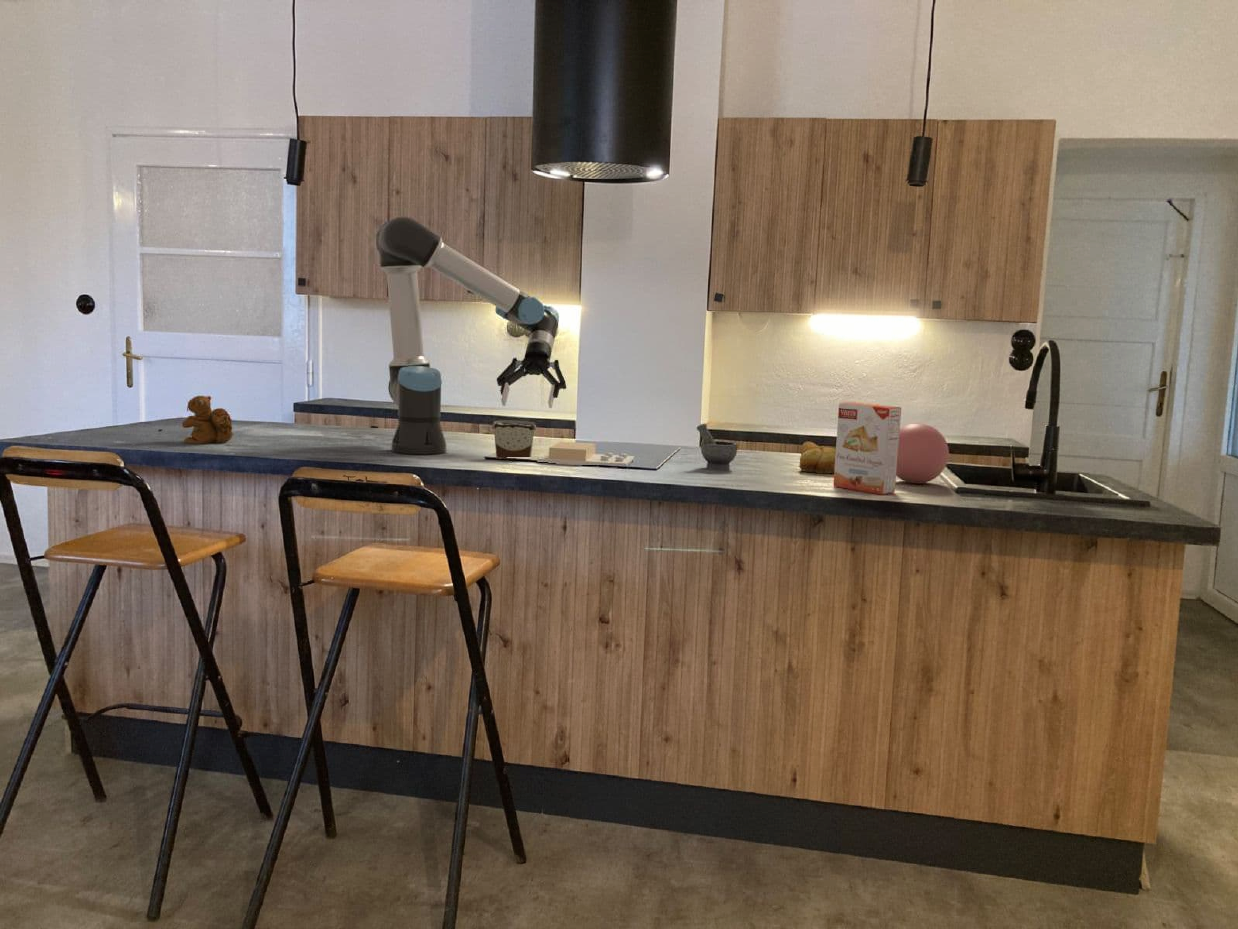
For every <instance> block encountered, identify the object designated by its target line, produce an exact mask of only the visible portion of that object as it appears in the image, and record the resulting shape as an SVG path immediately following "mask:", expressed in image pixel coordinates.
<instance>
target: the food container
mask: <svg viewBox="0 0 1238 929" xmlns="http://www.w3.org/2000/svg"><path fill="white" fill-rule="evenodd" d="M491 430H493V434H494V445H495V448H494V449H495V458H496V459H502V458H507V457H532V451H533V443H534V434H535V432H537V425H536V423H535V422H533V421H529V420H528V421H526V420H495V421H493V423H492V425H491Z"/></svg>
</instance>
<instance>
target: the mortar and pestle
mask: <svg viewBox="0 0 1238 929" xmlns="http://www.w3.org/2000/svg"><path fill="white" fill-rule="evenodd" d="M707 426H708V425H707V424H706V423H704V422H703V423H701V424H699V425H697V427H696V430H697V431H698V432H699V434H700V436H701V439H702V441H701V442H700V451H701V455H702V457H703V459H704V460H705V461H706V462H707V463H706V469H708V470H713V469H714V470H715V471H716V470H717V471H728V470H730V468H731V466H730V463H731V462H732V461H734V459H735V458H736V456H737V453H738V446H739V444H738V443H736V442H731V441H719V440H715V439H714V438H713V436H712V435H711V432H710V431H709V429H708V427H707Z"/></svg>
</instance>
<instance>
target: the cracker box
mask: <svg viewBox="0 0 1238 929" xmlns="http://www.w3.org/2000/svg"><path fill="white" fill-rule="evenodd" d="M837 416H838V417H837V429H836V443H835V444H836V445H835V450H836V455H835V469H834V473H833V484H832V485H833V487H836V488H841V489H848V490H854V491H859V492H865V493H871V494H875V495H881V496H882V495H883V496H884V495H887V494H889V495H890V494H895V493H896V492H895V491H896V481H897V476H896V471H897V458H898V445H899V432H900V428H901V416H902V407H900V406H893V405H884V404H883V405H881V404H875V403H867V402H866V403H863V402H854V401H843V402H839V403H838V415H837Z"/></svg>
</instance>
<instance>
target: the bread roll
mask: <svg viewBox="0 0 1238 929" xmlns="http://www.w3.org/2000/svg"><path fill="white" fill-rule="evenodd" d="M835 455H836V448H832V447H829V446H825V447H820V446H819V445H818V444H816V443H814V442H812V441H811V440H810V441H805V442H803V444H802V446H801V448H800V457H799V466H798V467H799V468H800V470H802V472H807V473H817V474H834V469H835Z"/></svg>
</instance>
